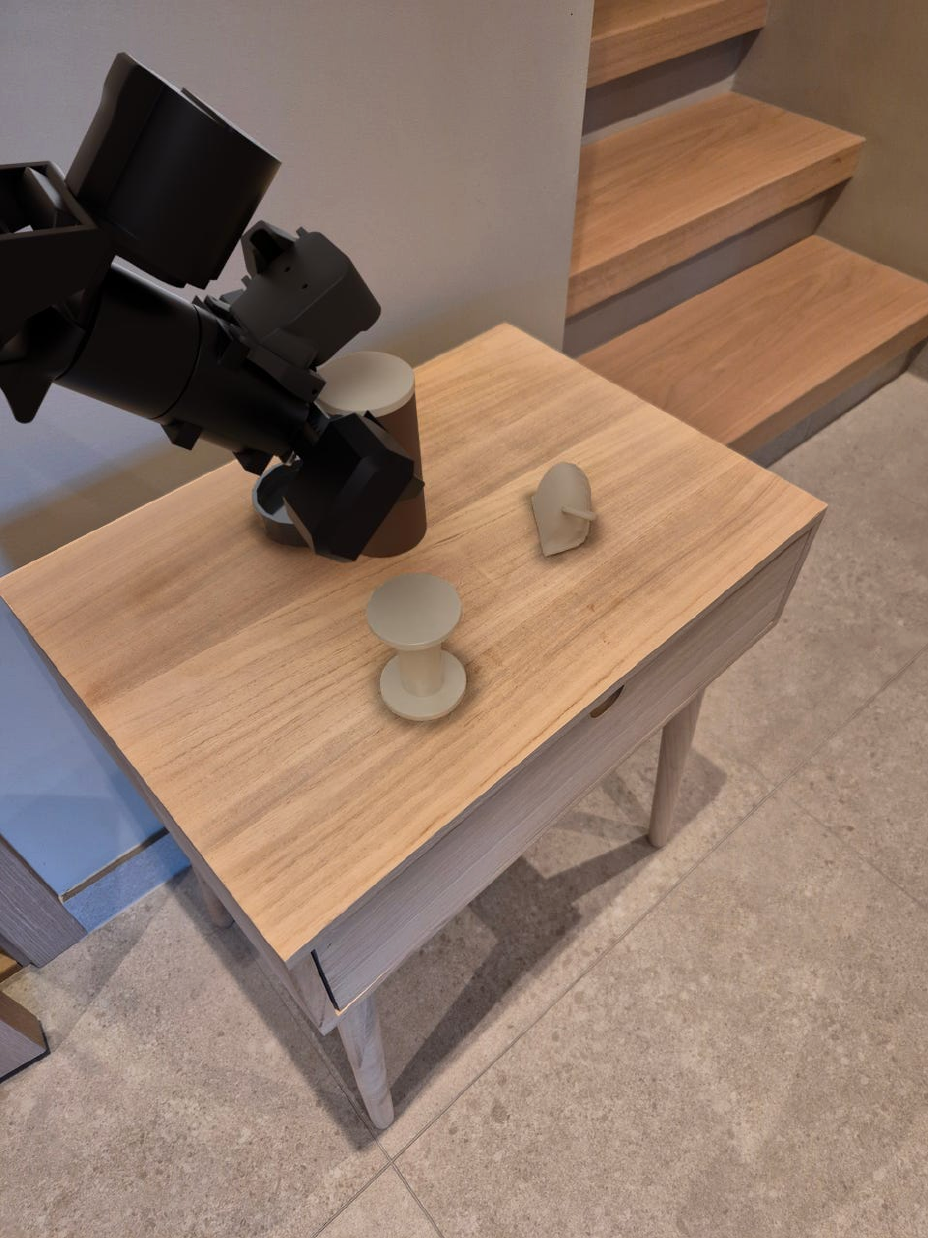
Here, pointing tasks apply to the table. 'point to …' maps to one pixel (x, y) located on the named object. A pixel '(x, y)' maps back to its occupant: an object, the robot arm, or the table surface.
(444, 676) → the stand
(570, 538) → the beige curved piece
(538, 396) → the table surface
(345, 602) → the table surface
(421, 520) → the brown lidded canister
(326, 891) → the table surface
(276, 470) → the bowl
